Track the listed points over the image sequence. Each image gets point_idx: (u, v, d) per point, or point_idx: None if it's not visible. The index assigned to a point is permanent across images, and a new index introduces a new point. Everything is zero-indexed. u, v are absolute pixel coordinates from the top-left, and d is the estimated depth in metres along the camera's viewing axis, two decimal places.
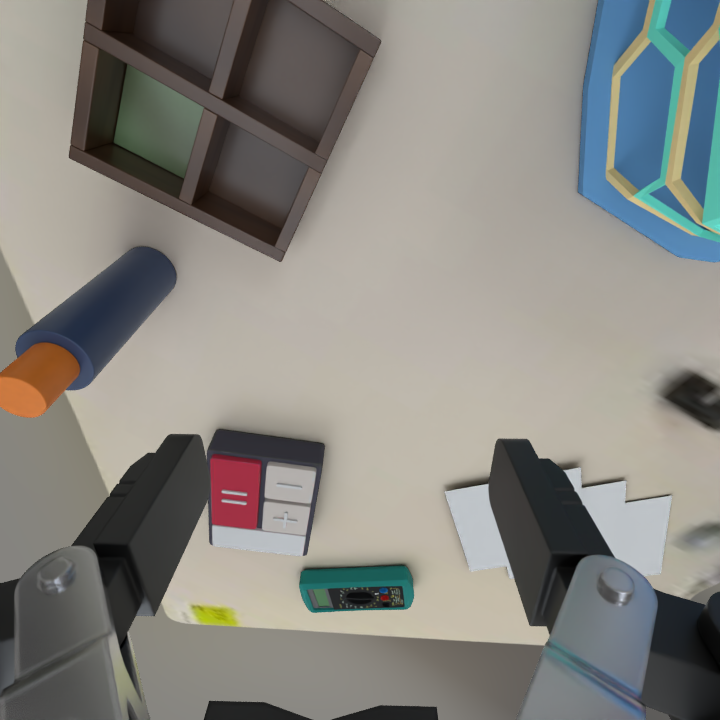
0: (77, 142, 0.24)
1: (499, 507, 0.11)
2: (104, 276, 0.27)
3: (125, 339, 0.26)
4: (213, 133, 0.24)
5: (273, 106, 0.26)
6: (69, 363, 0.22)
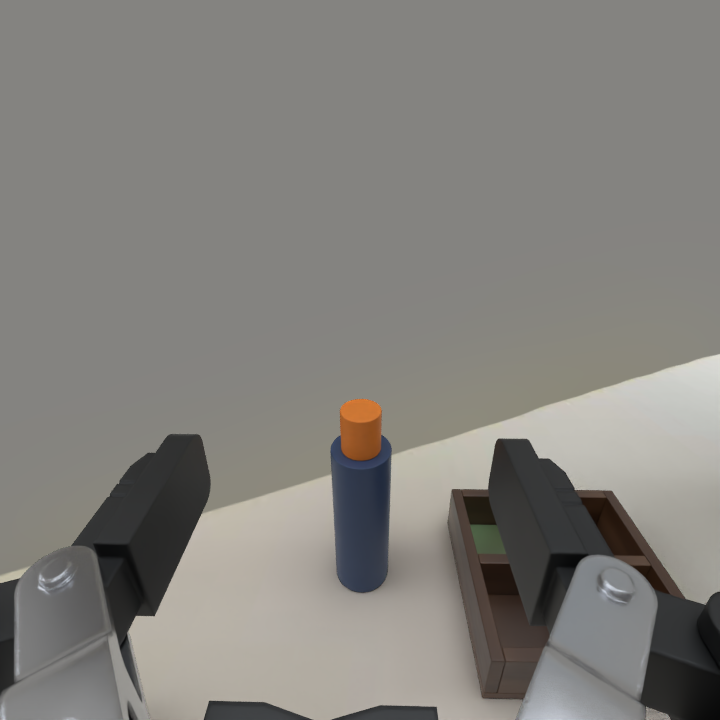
0: (465, 492, 0.35)
1: (499, 507, 0.11)
2: None
3: (362, 512, 0.28)
4: None
5: None
6: (374, 450, 0.27)
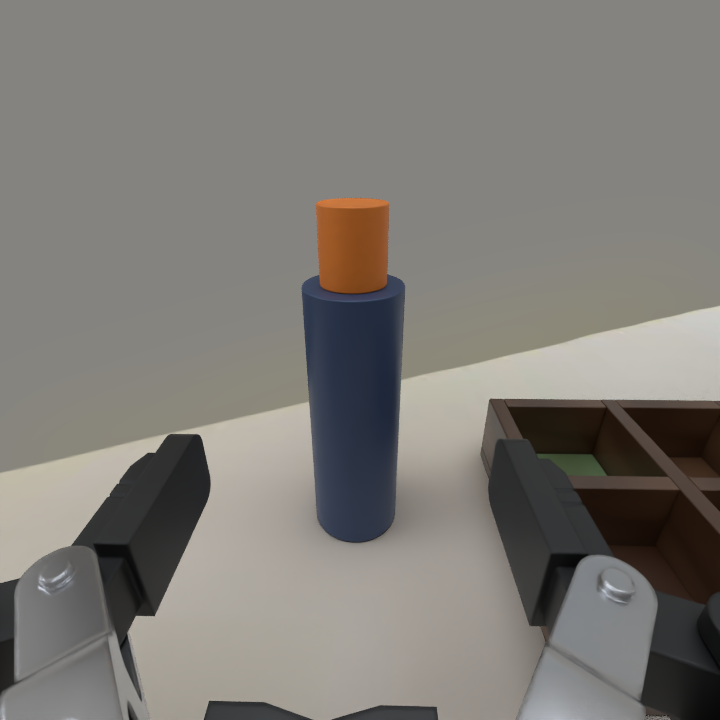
0: (511, 402, 0.24)
1: (499, 507, 0.11)
2: None
3: (354, 392, 0.16)
4: (654, 493, 0.18)
5: None
6: (376, 277, 0.15)
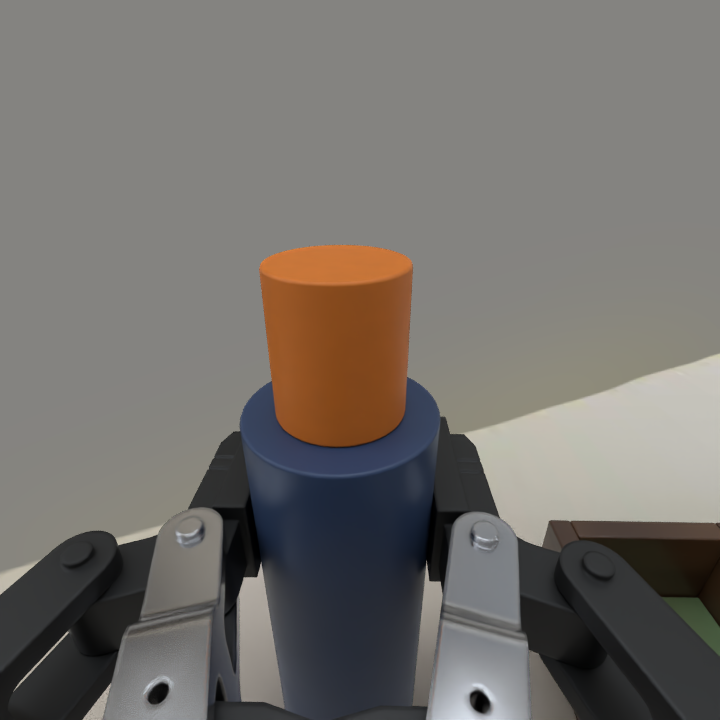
0: (582, 528, 0.16)
1: None
2: None
3: (343, 617, 0.09)
4: None
5: None
6: (385, 411, 0.08)
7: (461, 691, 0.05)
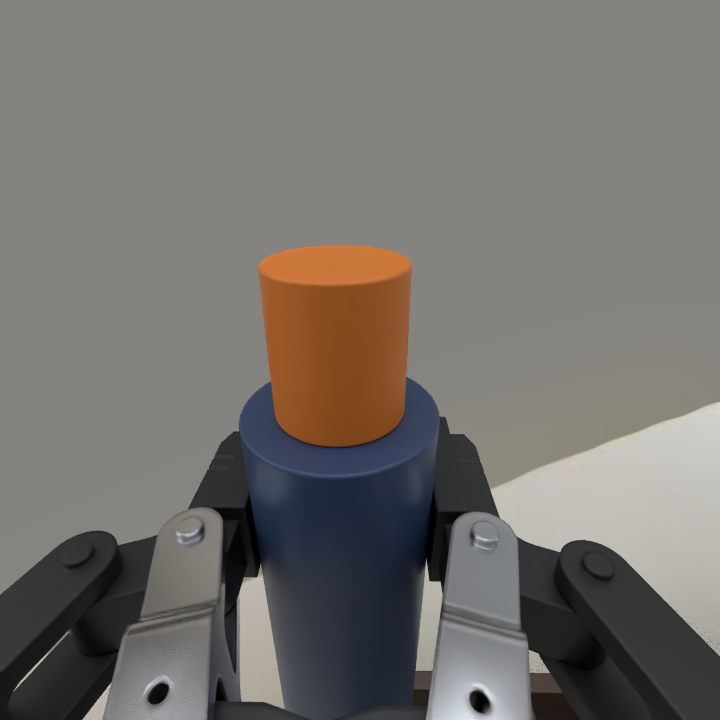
0: None
1: None
2: None
3: (342, 617, 0.09)
4: None
5: None
6: (384, 411, 0.08)
7: (461, 691, 0.05)
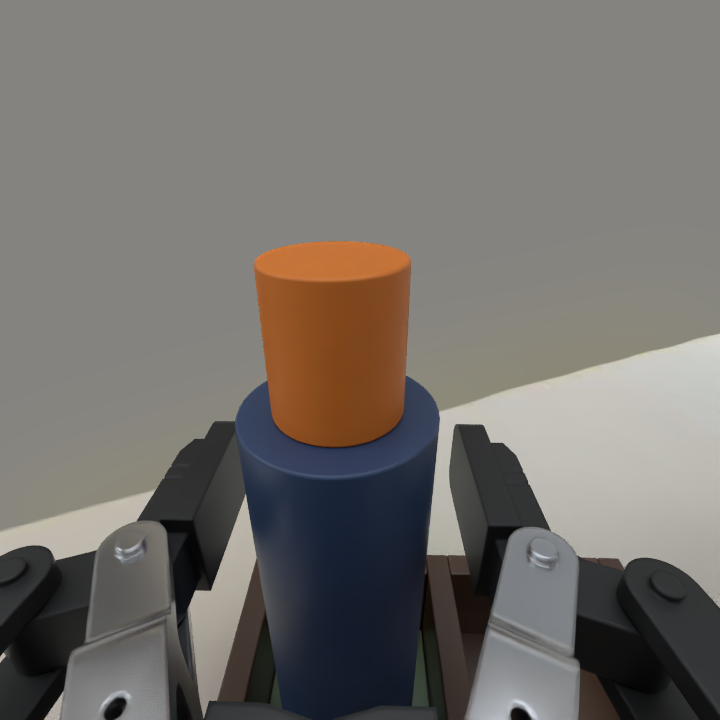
0: None
1: (456, 489, 0.11)
2: None
3: (341, 620, 0.08)
4: None
5: None
6: (383, 411, 0.07)
7: (502, 705, 0.05)
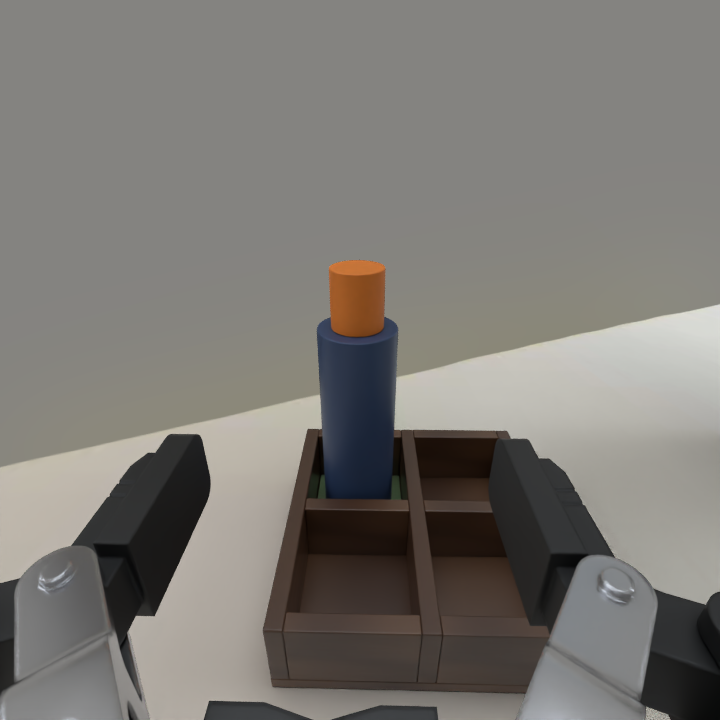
0: None
1: (499, 507, 0.11)
2: None
3: (358, 412, 0.21)
4: (389, 513, 0.22)
5: None
6: (375, 323, 0.20)
7: None
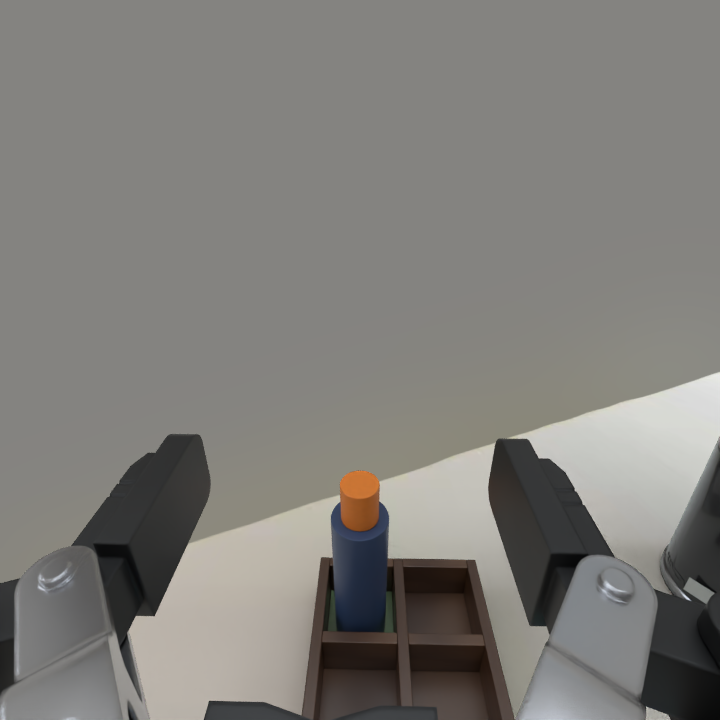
0: None
1: (499, 507, 0.11)
2: None
3: (360, 578, 0.29)
4: (383, 645, 0.30)
5: (415, 702, 0.30)
6: (372, 522, 0.28)
7: None
